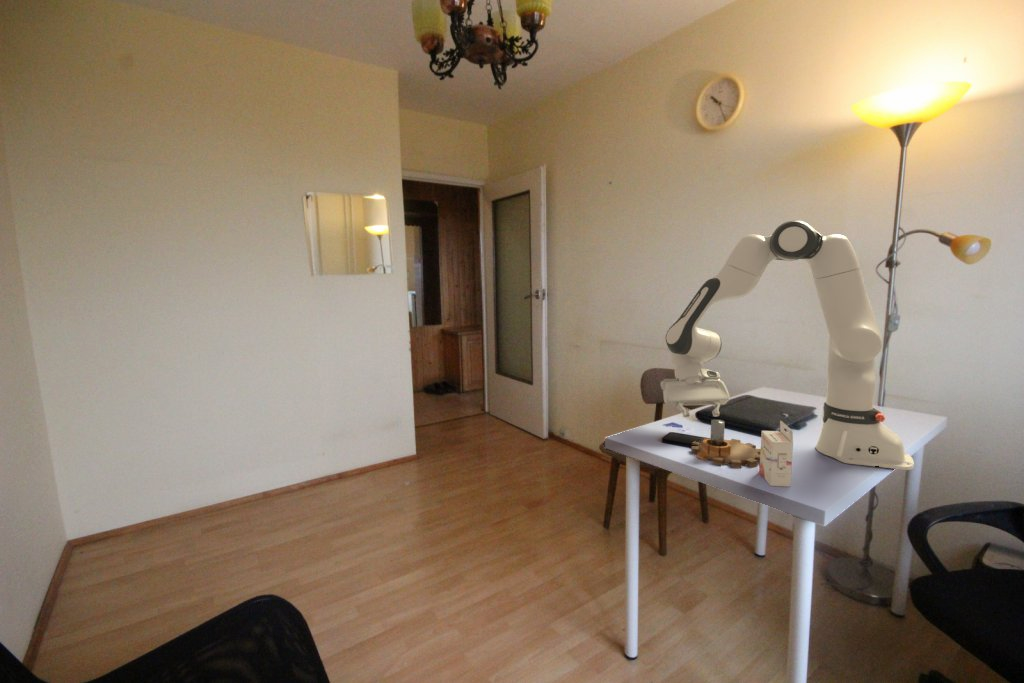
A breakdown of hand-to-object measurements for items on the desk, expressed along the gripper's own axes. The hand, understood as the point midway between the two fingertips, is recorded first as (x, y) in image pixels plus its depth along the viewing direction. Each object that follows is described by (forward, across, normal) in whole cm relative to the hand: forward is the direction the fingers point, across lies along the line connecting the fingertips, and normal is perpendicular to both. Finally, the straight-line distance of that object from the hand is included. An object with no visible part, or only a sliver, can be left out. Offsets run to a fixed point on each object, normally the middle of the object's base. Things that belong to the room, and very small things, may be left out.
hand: (701, 416), depth 144 cm
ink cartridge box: (+25, +8, -12) cm, 29 cm away
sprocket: (+13, +4, 0) cm, 13 cm away
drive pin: (+13, 0, -2) cm, 13 cm away
